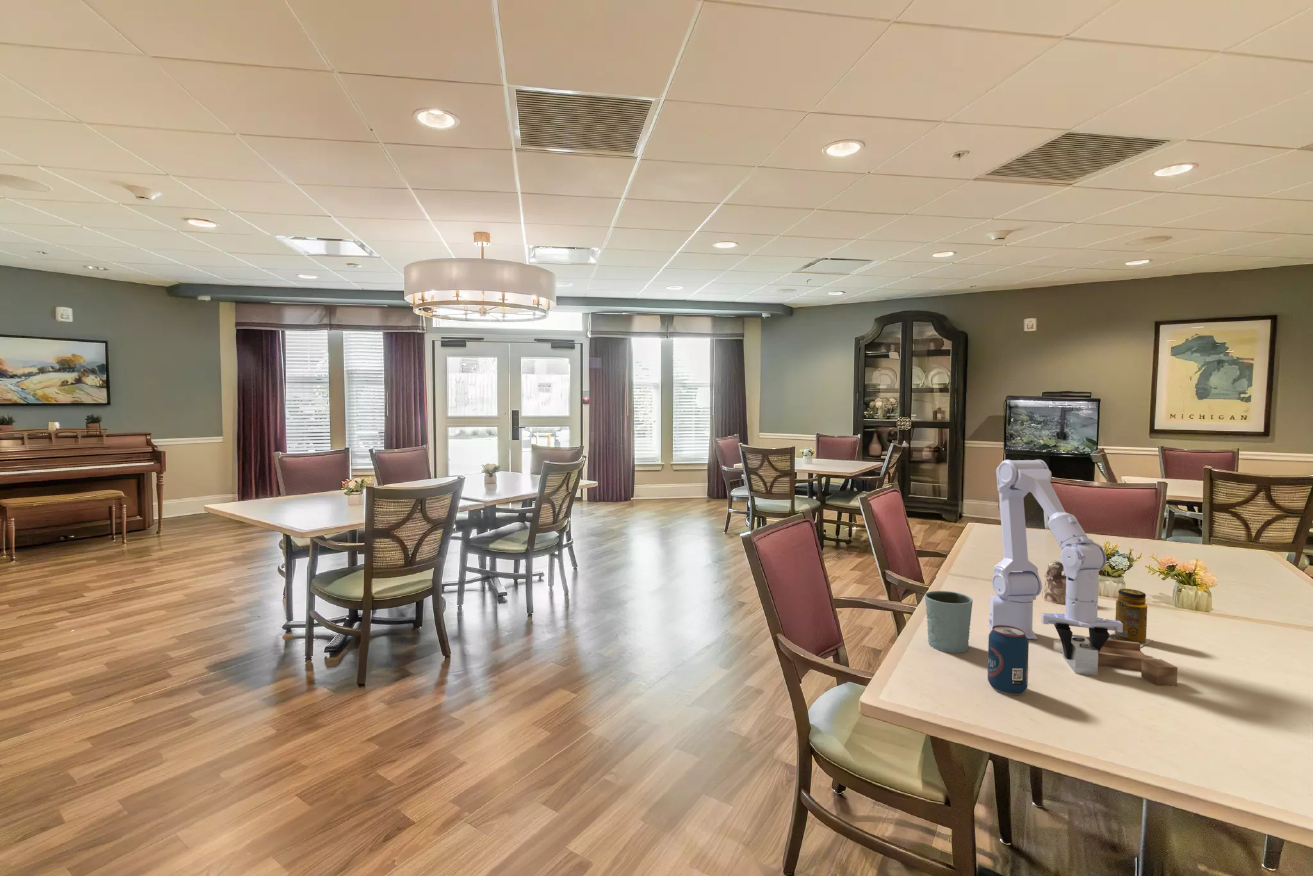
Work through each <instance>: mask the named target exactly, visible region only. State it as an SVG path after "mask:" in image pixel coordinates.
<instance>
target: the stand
mask: <svg viewBox="0 0 1313 876" xmlns="http://www.w3.org/2000/svg"><path fill="white" fill-rule="evenodd" d="M1085 637H1086V638H1087V639H1088V640H1089V641H1090V638H1089V636H1085ZM1142 659H1154V658H1151V657H1148V656H1147V655H1146V654H1145V653H1144V652H1142V651H1141V647H1140V643H1139V642H1130V641H1121V640H1112V639H1108V640H1107V641H1106V642H1105V643H1104V645H1103V646H1102V648H1101V650H1100V652H1099V654H1098V666H1107V667H1116V668H1122V669H1123V668H1124V669H1130V670H1138V671H1141V669H1142Z"/></svg>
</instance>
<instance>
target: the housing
mask: <svg viewBox="0 0 1313 876" xmlns="http://www.w3.org/2000/svg"><path fill="white" fill-rule="evenodd" d="M1086 637H1087V636H1086V635H1083V634H1082V635H1081V634H1074V633H1073V634H1072V639H1071V660H1068V659H1066V658H1065V656H1064V650H1063V653H1062V656H1063V660H1065V662H1066V663H1067V664H1068V666H1069V667H1070V669H1072V671H1073V672H1074V673H1075V674H1078V675H1085V676H1087V675H1088V676H1094V677H1098V676H1099V675H1098V673H1099V672H1098V671H1099V669H1098V668H1099V665H1098V650H1097V649H1096V647H1095V646H1094V645H1093V644H1092V643H1091V642H1090V641H1089V640H1088V639H1087V638H1086Z"/></svg>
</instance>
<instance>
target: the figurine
mask: <svg viewBox="0 0 1313 876" xmlns="http://www.w3.org/2000/svg"><path fill="white" fill-rule="evenodd" d="M1043 576H1044V577H1045V581H1044V586H1043V590H1042V591H1041V592H1042V594H1041V595H1042V597H1041V599H1042V600H1043V601H1044V602H1048V603H1051V604H1057V605H1066V576H1065V573H1064V567H1063V564H1062V563H1061V561H1059V560H1053V561H1051V562H1050V563H1048V564H1047V571H1046V573H1044V574H1043Z"/></svg>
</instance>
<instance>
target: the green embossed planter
mask: <svg viewBox="0 0 1313 876" xmlns="http://www.w3.org/2000/svg"><path fill="white" fill-rule="evenodd" d="M924 598H925V599H924V600H925V601H924V602H925V607H926V609H925V612H926V618H927V619H926V621H927V639H928V640H927V641H928V645H929V647H930V648H932V647H933V648H932V649H935V650H938V651H939V652H940V651H941V652H943V653H944V652H945V653H948V654H949V653H950V654H963V653H966V652H967V651H968V649H969V640H970V633H971V632H970V629H971V620H972V619H971V617H972V610H973V602H974V601H973V600H974V599H972V598H971V596H969V595H967V594H963V593H960V592H955V591H951V590H950V591H949V590H948V591H947V590H931V591H927V592H926V593H924Z"/></svg>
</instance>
